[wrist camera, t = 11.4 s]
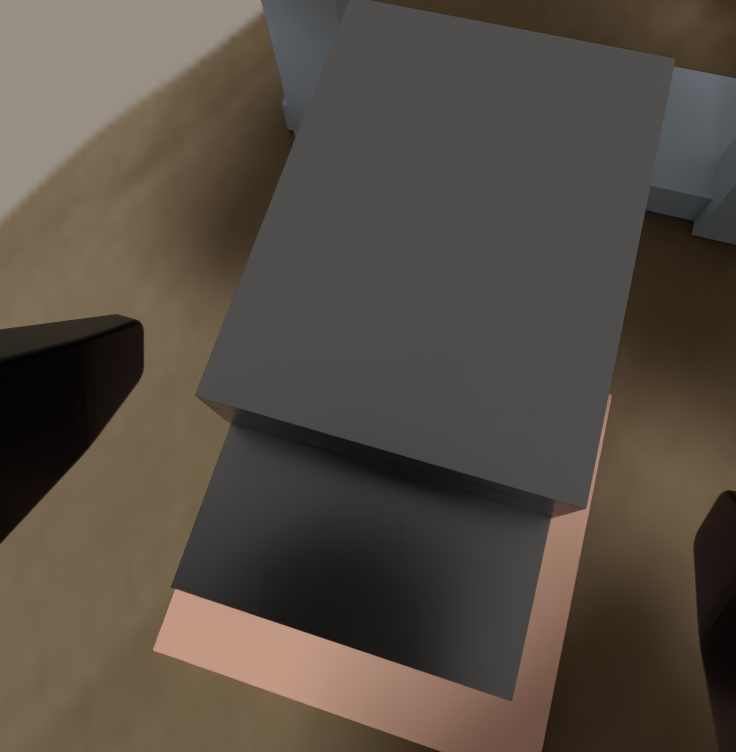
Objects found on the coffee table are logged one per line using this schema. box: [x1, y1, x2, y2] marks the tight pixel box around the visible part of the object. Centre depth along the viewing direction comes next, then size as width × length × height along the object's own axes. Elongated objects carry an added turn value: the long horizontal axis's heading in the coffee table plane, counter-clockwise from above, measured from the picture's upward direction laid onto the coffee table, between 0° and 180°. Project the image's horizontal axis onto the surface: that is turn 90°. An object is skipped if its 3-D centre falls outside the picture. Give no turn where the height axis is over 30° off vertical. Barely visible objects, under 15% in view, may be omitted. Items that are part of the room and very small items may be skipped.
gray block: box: [171, 0, 675, 702], centre depth 12 cm, size 4×7×11 cm, turn 163°
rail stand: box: [261, 0, 736, 245], centre depth 16 cm, size 16×5×10 cm, turn 73°
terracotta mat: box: [153, 394, 612, 752], centre depth 17 cm, size 10×10×1 cm
